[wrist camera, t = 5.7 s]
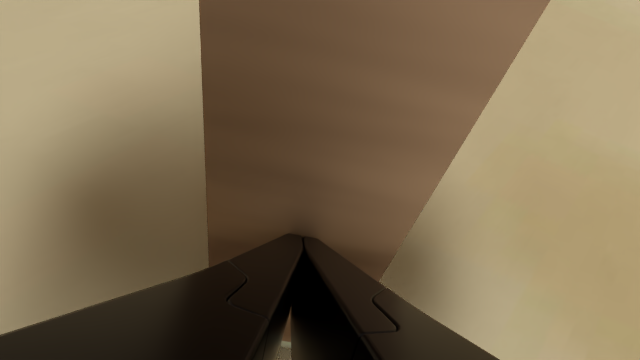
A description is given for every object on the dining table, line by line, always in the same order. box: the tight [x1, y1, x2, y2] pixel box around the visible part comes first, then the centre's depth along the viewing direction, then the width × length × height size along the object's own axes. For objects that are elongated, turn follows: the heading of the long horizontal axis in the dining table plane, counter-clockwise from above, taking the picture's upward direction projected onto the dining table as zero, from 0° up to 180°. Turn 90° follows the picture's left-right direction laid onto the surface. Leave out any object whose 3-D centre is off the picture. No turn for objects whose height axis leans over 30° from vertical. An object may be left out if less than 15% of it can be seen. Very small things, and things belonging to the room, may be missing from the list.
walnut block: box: [199, 0, 550, 348], centre depth 11 cm, size 5×5×14 cm
